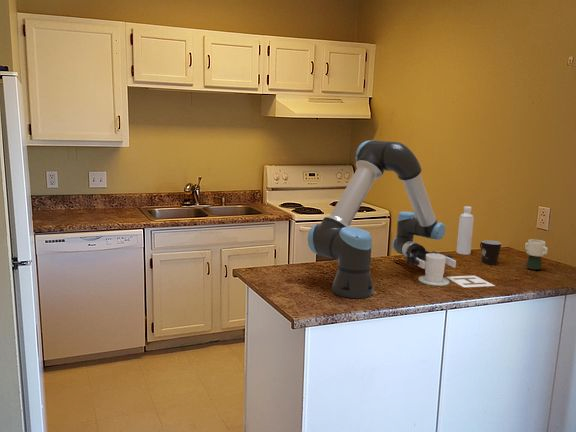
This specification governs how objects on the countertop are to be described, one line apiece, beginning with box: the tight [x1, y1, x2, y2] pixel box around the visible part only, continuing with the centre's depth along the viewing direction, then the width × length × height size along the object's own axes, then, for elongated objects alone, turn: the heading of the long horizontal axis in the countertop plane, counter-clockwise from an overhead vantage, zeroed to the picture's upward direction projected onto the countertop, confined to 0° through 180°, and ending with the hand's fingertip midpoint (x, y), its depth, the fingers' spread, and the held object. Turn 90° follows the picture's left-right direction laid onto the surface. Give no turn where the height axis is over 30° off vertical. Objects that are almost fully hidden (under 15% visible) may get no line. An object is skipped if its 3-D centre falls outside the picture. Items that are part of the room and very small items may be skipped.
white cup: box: [424, 253, 446, 282], centre depth 207 cm, size 8×8×10 cm
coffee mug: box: [479, 239, 502, 266], centre depth 240 cm, size 12×9×10 cm
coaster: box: [418, 275, 450, 287], centre depth 207 cm, size 12×12×1 cm
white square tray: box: [445, 275, 496, 288], centre depth 209 cm, size 14×14×1 cm
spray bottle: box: [456, 206, 475, 256], centre depth 255 cm, size 7×7×25 cm
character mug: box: [524, 239, 549, 271], centre depth 230 cm, size 11×7×13 cm, turn 29°
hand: (439, 264), depth 203 cm, fingers open, 13 cm apart
